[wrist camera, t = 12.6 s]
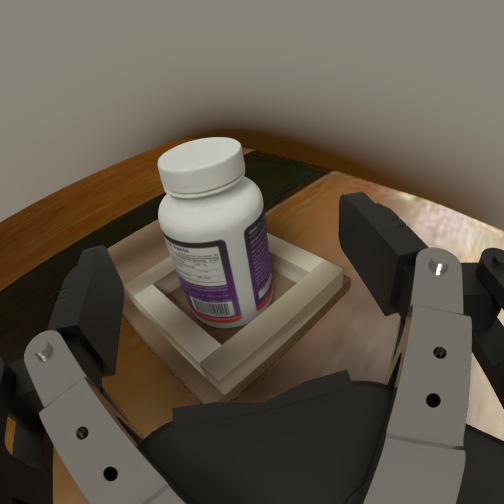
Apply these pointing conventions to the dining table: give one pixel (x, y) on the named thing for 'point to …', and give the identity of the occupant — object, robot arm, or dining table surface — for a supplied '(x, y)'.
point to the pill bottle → (216, 231)
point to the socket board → (221, 339)
